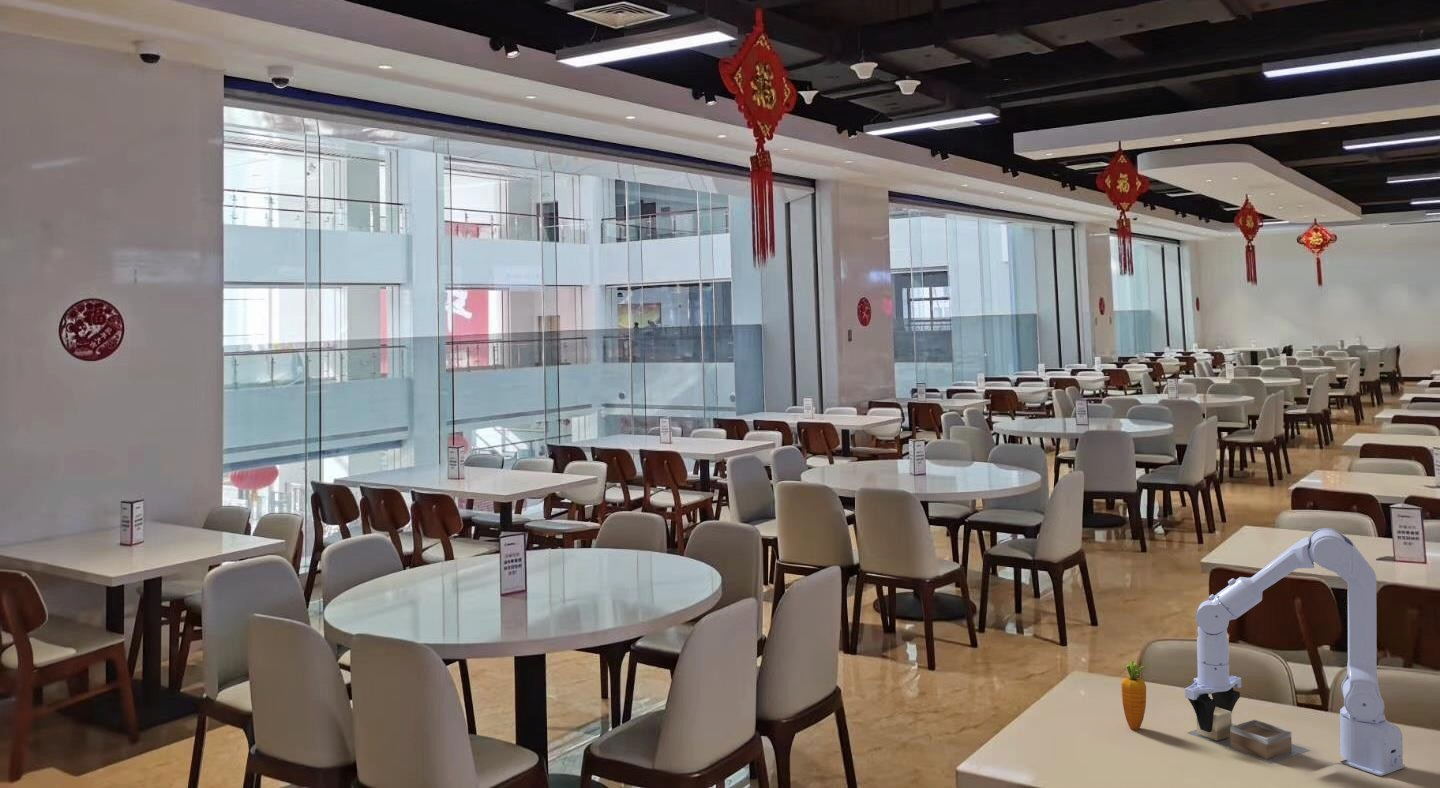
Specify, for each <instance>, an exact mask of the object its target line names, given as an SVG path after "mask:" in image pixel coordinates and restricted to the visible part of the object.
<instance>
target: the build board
mask: <svg viewBox="0 0 1440 788" xmlns="http://www.w3.org/2000/svg"><path fill="white" fill-rule="evenodd" d="M1235 725H1236V724H1234V723H1232V726H1235ZM1186 733H1187V734H1189V735H1192V736H1194V737H1197V738H1200V739H1203V740H1205V741H1208V742H1211V743H1214V744H1215V745H1218V746H1222V747H1224V748H1227V749H1230V750H1232V751H1234V752H1235V751H1236V752H1238V753H1240V754H1244V755H1246V756H1249V757H1251V758H1255V759H1258V760H1260V761H1263V762H1265V763H1268V764H1273V763H1276V762H1279V761H1283V760H1285V759H1290V758H1292V757H1294V756H1297V755H1298V756H1299V755H1301V754H1303V753H1306V752H1310V751H1311V750H1310V749H1307V748H1304V747H1301V746H1299V745H1295V744H1293V743H1292V752H1290V753H1287V754H1284V755H1281V756H1278V757H1275V758H1272V759H1269V760H1265V759H1262V758H1260V757H1257V756H1254V755H1251V754H1249V753H1246V752H1243V751H1240V750H1238V749H1235V748H1232V747H1231V739H1230V737H1228V738H1225V739H1221V740H1218V741H1216V740H1213V739H1211V738H1208V737H1205V736H1202V735H1199V734H1197V729H1193V730H1191V731H1187V732H1186Z"/></svg>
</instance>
